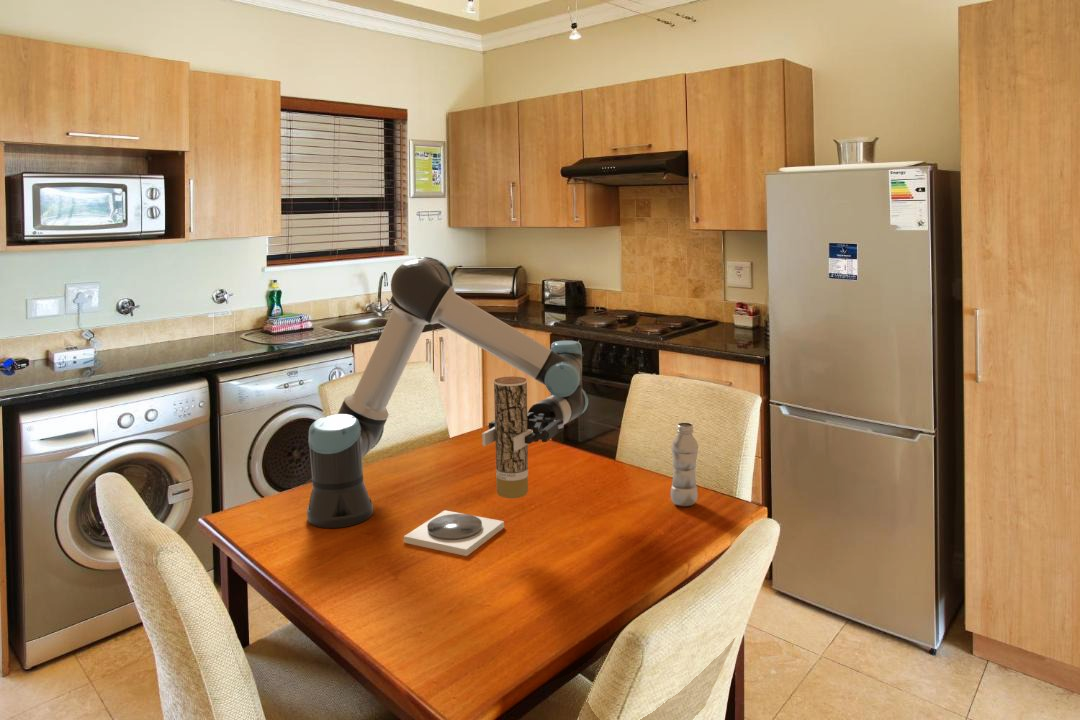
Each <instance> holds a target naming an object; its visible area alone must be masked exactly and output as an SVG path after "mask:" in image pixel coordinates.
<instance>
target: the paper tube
mask: <svg viewBox="0 0 1080 720" xmlns="http://www.w3.org/2000/svg"><path fill="white" fill-rule="evenodd" d="M493 381H494V382H493V387H494V388H493V391H494V392H493V393H494V394H493V395H494V421H495V441H494V442H495V473H496V474H495V476H496V477H495V478H496V480H495V481H496V493H497V495H498V496H500V497H502V498H503V499H520V498H522V497H525V496H526V495H527V494H528V492H529V455H528V454H529V448H528V446H529V444H528V445H526V446H524V447H523V448H521V449H519V450H518V451H515V450H514V437H516V436H517V435H519V434H521V433H523V432H525V431H527V413H528V387H527V386H528V384H527V383H528V381H527V378H526V377H523V376H501V377H497V378H495V379H494V380H493Z"/></svg>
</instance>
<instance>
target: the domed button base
mask: <svg viewBox="0 0 1080 720" xmlns="http://www.w3.org/2000/svg"><path fill="white" fill-rule="evenodd" d="M504 528H505V521H503V520H499V519H494V518H488V517H484V516H483V517H482V516H477V515H472V514H467V513H461V512H457V511H450V510H442V511H441V512H440V513H439V514H436V515H435V516H433V517H432V518H430V519H428V520H427V521H425V522H423V524H421V525H419V526H417V527H415V529H413V530H411V531H410V532H408V533H407V534H405V535H403V543H405V544H409V545H413V546H416V547H417V546H418V547H423V548H427V549H431V550H437V551H440V552H444V553H451V554H455V555H459V556H464V557H468V556H469V555H470V554H471V553H473V552H474V551H476V550H477V549H478V548H479V547H480V546H483V544H484V543H487V541H489V540H490V539H492V538H493V537H494V536H495V535H496V534H498V533H499V532H501V531H502V530H503V529H504Z"/></svg>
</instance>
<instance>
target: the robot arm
mask: <svg viewBox="0 0 1080 720" xmlns="http://www.w3.org/2000/svg"><path fill="white" fill-rule="evenodd" d="M453 285H454V280H453V274H452V273H451V270H450V269H449V267H448V266H447V265H446V263H444V262H442V261H441V260H439V259H438V258H435V257H429V256H422V257H418V258H416V259H413V260H409V261H406V262H404V263H402V264H400V265H399V266H398V267H397V268H396V270H395V271H394V272H393V275H392V277H391V280H390V290H391V294H392V295H391V297H390V300H389V303H390V306H391V309H392V311H391V313H390V315H389V318H388V319H387V321H386V324H385V325H384V327H383V330H382V332H381V334H380V336H379V339H378V341H377V343H376V345H375V347H374V349H373V352H372V354H371V356H370V358H369V361H367V364H366V366H365V369H364V371H363V373H362V375H361V377H360V380H359V382H358V384H357V386H356V387H355V388H356V389H355V390H354V392H353V393H351V394H348V395H346V396H345V397H344V400H343V402H342V403H341V406H340V408H339V410H338V413H335V414H329V415H326V416H325V417H320V418H318V419H316V420H314V421H313V422H312V423H311V425H310V426H309V429H308V440H307V441H308V442H307V443H308V448H309V457H310V458H309V459H310V469H311V471H310V472H311V480H312V490H311V493H310V498H309V502H308V506H307V508H306V518H307V522H308V523H309V524H310V525H312V526H315V527H317V528H324V529H325V528H326V529H335V528H336V529H339V528H346V527H350V526H351V527H352V526H354V525H357V524H360V523H363V522H365V521H367V520H368V519H370V518H371V517H372V516H373V514H374V507H373V506H374V505H373V501H372V500H371V498H370V496H369V493H368V491H367V488H366V485H365V482H364V469H363V458H364V457H365V456H366V455H367V454H368V453H369V452H370V451H371V450H372V449H374V448H375V447H376V446H377V445H378V444H379V442H380V441H381V439H382V436H383V433H384V429H385V424H386V422H387V420H388V418H389V415H390V414H389V411H388V410H387V409H388V408H387V406H388V405H389V402H390V400H391V397H392V396H393V394H394V392H395V389H396V387H397V385H398V383H399V381H400V379H401V376H402V374H403V373H404V370H405V368H406V367H407V364H408V361H409V360H410V357H412V356H411V355H412V353H413V351H414V350H415V347H416V344H417V343H418V342H419V339H420V337H421V335H422V332H423V331H424V328H425V326H426V325H427V324H430V325H435V324H440V325H441V326H443V327H444V328H446V329H448V330H450V331H451V332H453V333H455V334H456V335H458V336H460V337H461V338H462V339H465V340H467V341H469V342H471V343H472V344H473V345H476V346H478V347H479V348H481V349H483V350H484V351H486V352H488V353H490V354H491V355H493V356H495V357H496V358H498V359H499V360H502V361H503V362H505V363H507V364H509V365H510V366H512V367H514V368H515V369H516V370H518V371H520V372H522V373H524V374H526V375H527V376H529V377H531V378H532V379H534V380H536V381H538V382H539V383H540V384H541V385H544V386H545V388H546V389H547V390H548V392H549V393H550V396H547V397H545V398H544V399H542V400H540V401H538V402H536V403H534V404H532V406H530V407H529V409H528V410H527V431H525V432H523V433H521V434H519V435H517V436H516V437H514V450H515V451H518V450H519V449H521V448H523V447H524V446H526V445H528V446H529V444H530V445H531V444H532V443H537V442H539V441H541V442H542V443H547V442H549V441H550V440H552V438H554V437H555V436H556V435H558V434H559V433H560V432H564V426H565V425H567V424H568V423H570V422H571V421H574V420H576V419H577V418H579V417H580V416H582V414H584V412H586V410H587V409H588V406H589V398H588V395H587V392H586V391H585V390H584V389H583V380H582V379H583V378H582V377H583V350H582V344H581V343H580V341H576V340H557V341H553V342H552V343H551V344H550V348H549V347H547V346H545V345H543V344H542V343H540V342H538V341H537V340H535V339H533V338H532V337H530V336H529V335H526V334H525V333H523V332H521V331H519V330H518V329H516V328H514V327H513V326H511V325H509V324H508V323H506V322H504V321H502V320H501V319H499V318H497V317H495V316H494V315H492V314H491V313H489V312H487V311H486V310H484V309H482V308H481V307H478V306H477V305H475V304H473V303H472V302H470V301H469V300H466V299H465V298H463V297H461V296H460V295H458V294H456V292H455V288H454V286H453ZM494 442H495V420H492V421H490V422H488V430H485V431H483V432H482V433H481V443H482V445H481V446H483V447H486V446H489V445H490V444H492V443H494Z"/></svg>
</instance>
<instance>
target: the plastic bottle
mask: <svg viewBox="0 0 1080 720" xmlns="http://www.w3.org/2000/svg"><path fill="white" fill-rule="evenodd" d="M676 430H677V431H676V433H677V435H676V436H675V437H674V438H673V440H672V442H671V455H672V464H673V465H672V467H673V470H672V471H673V472H672V473H673V474H672V483H671V488H670V500H671V502H672V503H673V504H674V505H676V506H679V507H690V506H694V505H695V503H696V502H697V499H698V488H697V480H696V467H697V460H698V452H699V444H698V442H697V439H696V438H695V437H694V435H693V433H694V425H693V424H692V423H691V422H679V423H677V429H676Z"/></svg>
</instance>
